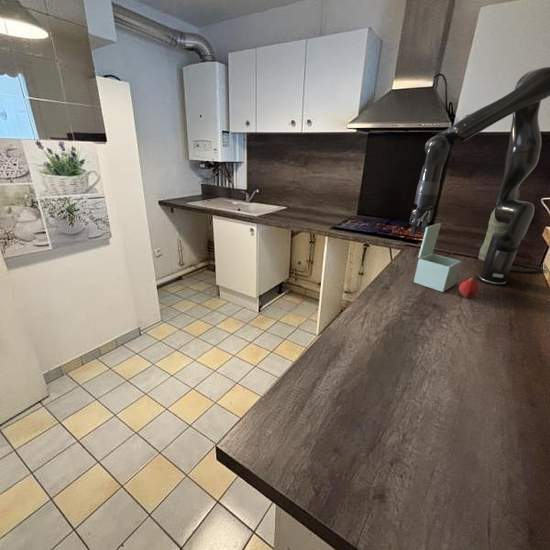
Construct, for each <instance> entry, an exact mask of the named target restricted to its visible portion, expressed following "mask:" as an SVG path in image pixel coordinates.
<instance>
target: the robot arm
mask: <svg viewBox="0 0 550 550" xmlns="http://www.w3.org/2000/svg"><path fill="white" fill-rule="evenodd" d="M549 97H550V66H544V67H540V68H537V69H532V70H530V71H527V72H526V73H524V74H523V75H522V76H520V78H519V79H518V81H517V82H516V84H515V87H514V90H512V91H511V92H509V93H508V94H506V95H504V96H502V97H501V98H498V99H497V100H495V101H493V102H491V103H489V104H487V105H485V106H483V107H481V108H479V109H477V110H475V111H474V112H471V113H470V114H468V115H467V116H465V117H464V118H462V119H460V120H459V121H457V122H455V124H453V125H451V127H448V128H447V129H445V130H442V131H441V132H439V133H437V134H436V135H434V136H432V137H431V138H428V140H427V142H426V143H425V145H424V152H425V154H426V156H425V161H424V164H423V166H422V168H421V171H420V176H419V181H418V184H417V188H416V193H415V197H414V202H413V203H414V205H415V206H416V208H412V209H411V213H410V214H411V215H410V218H409V222H408V224H409V225H411V228H410V233H409V234H410V235H411V236H416V235H417V233H418V229H419V225H420V223H421V226H420V227H424V226H429V224H430V222H431V221H432V220H433V215H434V210H435V206H436V203H437V197H438V194H439V190H440V183H441V178H442V174H443V168H444V165H445V163H446V160H447V158H448V155H449V151H450V149H451V148H453V147H455V146H456V145H458V144H461V143H464V142H465V141H467V140H469V139H471V138H472V137H474V136H476V135H477V134H479V133H481V132H482V131H484V130H486V129H487V128H489V127H491V126H493V125H494V124H497V123H498V122H499V121H501V120H504V119H505V118H507V117H508V116H510V115H512V120H511V127H510V132H509V138H508V144H507V149H506V154H505V155H506V156H505V162H504V169H503V175H502V180H501V185H500V189H499V193H498V197H497V200H496V203H497V204H496V203H495V207H496V208H495V207H494V209H495V219H496V220H497V221H498V222H501V223H505V224H509V226H508V228H507V230H506V231H503V232H495V233H494V234H493V236H492V239H491V242H490V245H489V248H488V251H487V254H486V258H485V261H483V263H482V267H481V270H480V273H479V275H478V279H479V281H481V282H483V283H486V284H489V285H494V286H504V285H506V284H507V280H508V277H509V274H510V272H518V273H540V272H543V271H544V270H545V268H544V269H543V264H544V263H540V264H539V266H540V267H541V268H540V269H535V270H533V269H532V270H527V269H526V270H525V269H517V268H512V266H513V265H514V264H513V263H514V260H515V258H516V256H517V253H518V250H519V247H520V244H521V242H522V240H523V239H524V237H525V235H526V233H527V231H528V229H529V226H530V225H531V222H532V219H533V217H534V214H535V205H534V203H532V202H529V201H524V200H519V199H518V200H516V194H517V191H518V190H519V187H520V186H521V184H522V183H523V182H524V180H525V179H527V177H528V176H529V175H530V174H531V173H532V171H534V169H535V168H536V166H537V164H538V162H539V159H540V155H541V154H540V153H541V148H542V134H541V133H542V132H541V128H540V123H539V112H540V107H541V103H542V101H543V100H545V99H547V98H549ZM421 233H425V231H421Z"/></svg>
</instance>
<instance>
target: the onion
mask: <svg viewBox="0 0 550 550" xmlns="http://www.w3.org/2000/svg"><path fill="white" fill-rule="evenodd" d="M458 290H459V293H460V294H461V295H462V296H463V297H464V298H466V299H468V298H471V297H473V296H475V295H476V294H477V293H478V292H479V285H478V284H477V281H475V279H474V277H471V278H468V279H465V280H464V281H462V282H461V283H460V284H459V287H458Z"/></svg>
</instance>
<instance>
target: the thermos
mask: <svg viewBox="0 0 550 550" xmlns="http://www.w3.org/2000/svg"><path fill="white" fill-rule="evenodd" d="M519 198H520V189H518V191H517V194H516V200H519ZM496 204H497V202H496V203H495V205H496ZM495 208H496V206H494V210H493V211H492V212H491V214H490V218H489V221H488V228H487V231H486V234H485V238H484V241H483V243H482V245H481V246H480V249H479V252H478V257H477V259H478V260H479V261H482V262H484V261H485V258H486V254H487V251H488V248H489V245H490V242H491V239H492V236H493V234H494V233H495V232H503V231H506V230H507V228H508V226H509V224H505V223H501V222H498V221H497V220H496V219H495Z"/></svg>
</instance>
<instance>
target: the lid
mask: <svg viewBox="0 0 550 550" xmlns="http://www.w3.org/2000/svg"><path fill="white" fill-rule="evenodd" d="M441 226H442V223H441V222H438V223H435V224H432V225H428V226H424V227H421V226H420V227H418V229H417V231H418V232H421V231H425V232H423V238H422V240H421V241H422V242H421V245H420V249H419V253H418V256H417V257H418V259H420V258H422V257H425V256H427V255H429V254H431V253H433V254H434V251H435V247H436V243H437V240H438V236H439V233H440V229H441ZM421 233H422V232H421Z"/></svg>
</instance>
